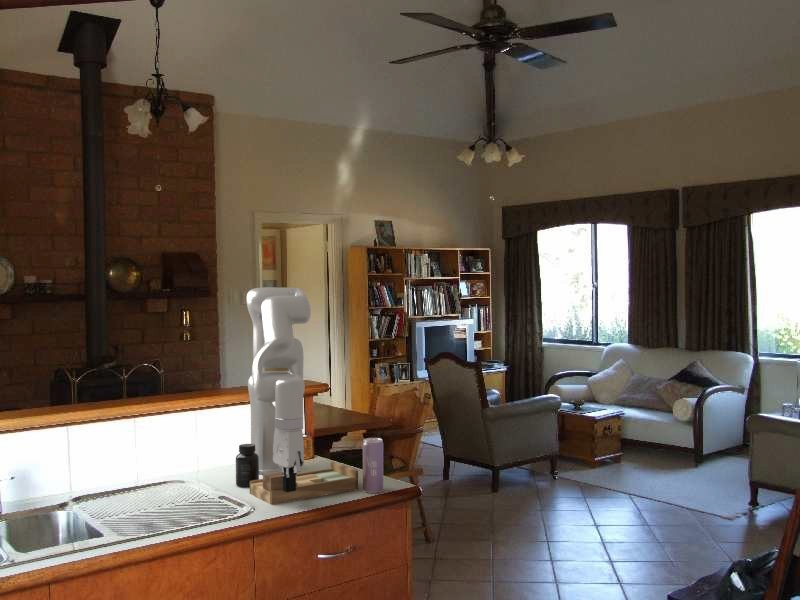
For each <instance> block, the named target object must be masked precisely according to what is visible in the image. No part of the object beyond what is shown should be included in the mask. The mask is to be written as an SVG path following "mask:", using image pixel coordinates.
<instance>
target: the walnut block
mask: <svg viewBox="0 0 800 600" xmlns="http://www.w3.org/2000/svg"><path fill="white" fill-rule="evenodd" d="M283 477H284V476H282V471H280V472H274V473H267V474H262V479H263V489H265V490H267V491H269V492H270V491H272V490H278V489H283Z"/></svg>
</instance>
